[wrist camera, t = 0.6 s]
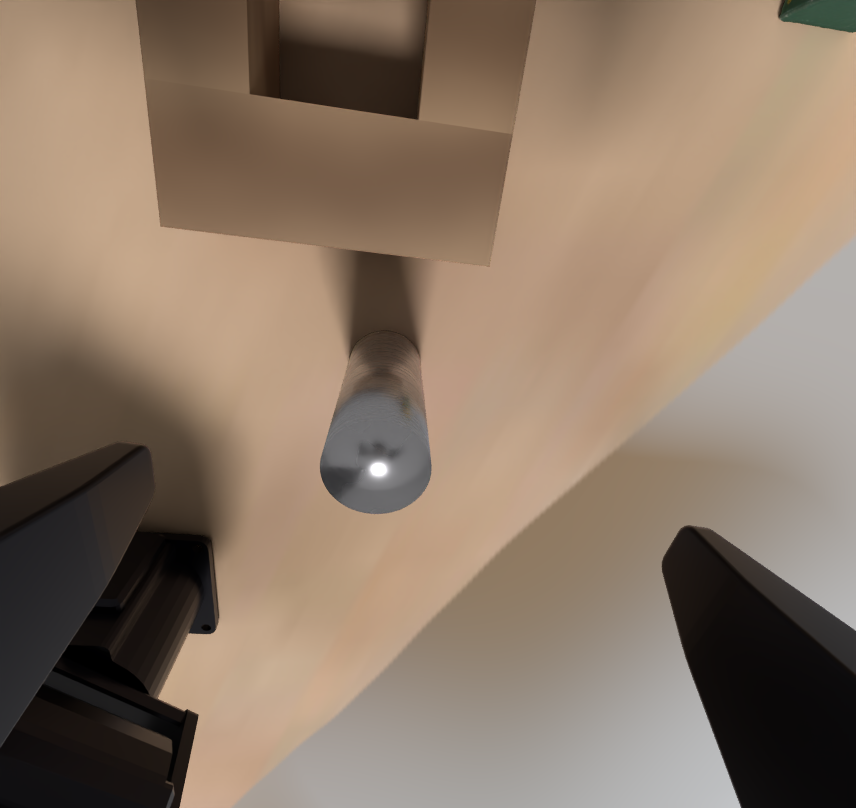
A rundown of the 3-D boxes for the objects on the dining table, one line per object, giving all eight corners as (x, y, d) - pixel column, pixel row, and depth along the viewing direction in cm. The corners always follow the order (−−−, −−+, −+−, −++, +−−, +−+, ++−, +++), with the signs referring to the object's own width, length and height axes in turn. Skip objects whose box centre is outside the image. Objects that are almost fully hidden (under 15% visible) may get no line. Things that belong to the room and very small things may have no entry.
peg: (416, 400, 21) (424, 517, 13) (347, 393, 20) (318, 510, 13) (424, 334, 19) (438, 425, 12) (351, 327, 19) (321, 415, 12)
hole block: (474, 252, 18) (489, 266, 15) (205, 218, 17) (160, 226, 14) (545, -195, 13) (591, -316, 10) (169, -281, 12) (86, -445, 9)
